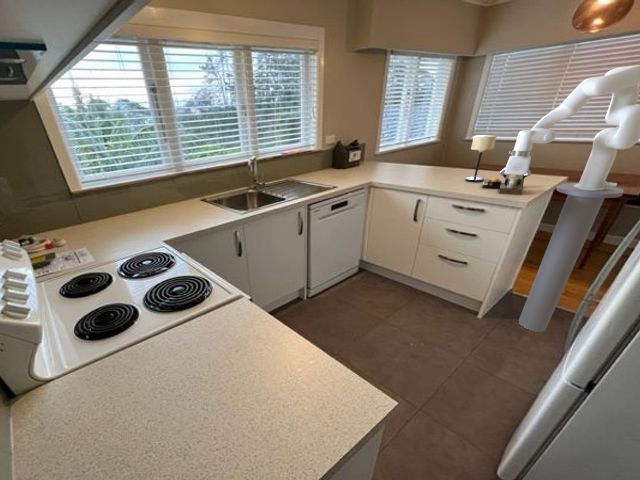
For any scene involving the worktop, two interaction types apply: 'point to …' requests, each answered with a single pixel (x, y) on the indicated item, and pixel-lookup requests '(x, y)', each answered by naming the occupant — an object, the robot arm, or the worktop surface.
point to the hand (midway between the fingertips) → (511, 185)
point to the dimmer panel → (510, 190)
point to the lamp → (481, 145)
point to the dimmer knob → (512, 182)
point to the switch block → (492, 184)
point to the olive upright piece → (521, 180)
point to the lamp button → (495, 179)
